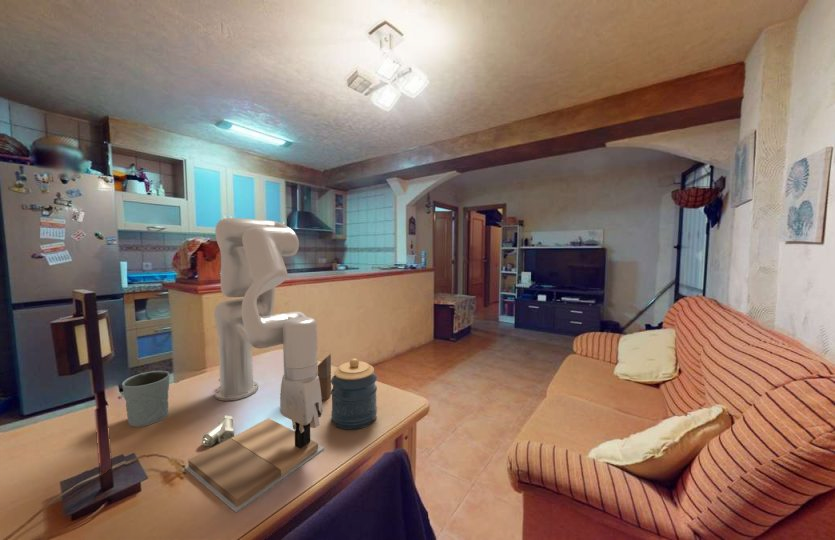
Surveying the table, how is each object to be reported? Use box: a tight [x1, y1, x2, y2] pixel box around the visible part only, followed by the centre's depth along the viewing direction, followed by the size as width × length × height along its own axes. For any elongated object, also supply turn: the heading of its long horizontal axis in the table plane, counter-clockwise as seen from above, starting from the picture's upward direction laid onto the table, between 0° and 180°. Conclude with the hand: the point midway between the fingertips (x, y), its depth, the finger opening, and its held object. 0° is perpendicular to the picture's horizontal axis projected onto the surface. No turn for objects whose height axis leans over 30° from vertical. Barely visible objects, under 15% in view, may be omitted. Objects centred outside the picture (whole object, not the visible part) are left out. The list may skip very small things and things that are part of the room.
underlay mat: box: [184, 444, 325, 513], centre depth 71 cm, size 21×21×1 cm
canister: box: [330, 357, 378, 430], centre depth 88 cm, size 13×13×18 cm
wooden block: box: [318, 353, 332, 400], centre depth 100 cm, size 4×11×18 cm, turn 83°
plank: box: [231, 417, 319, 476], centre depth 75 cm, size 20×10×2 cm, turn 58°
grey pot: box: [121, 370, 171, 427], centre depth 87 cm, size 10×10×12 cm
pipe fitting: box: [201, 415, 235, 447], centre depth 79 cm, size 8×4×7 cm
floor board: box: [187, 438, 280, 507], centre depth 67 cm, size 20×9×2 cm, turn 58°
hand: (302, 444), depth 74 cm, fingers closed
